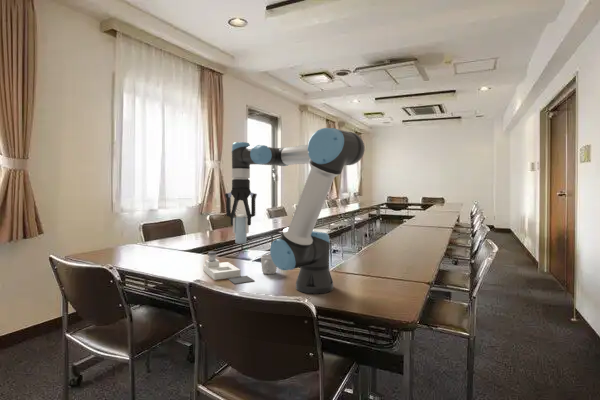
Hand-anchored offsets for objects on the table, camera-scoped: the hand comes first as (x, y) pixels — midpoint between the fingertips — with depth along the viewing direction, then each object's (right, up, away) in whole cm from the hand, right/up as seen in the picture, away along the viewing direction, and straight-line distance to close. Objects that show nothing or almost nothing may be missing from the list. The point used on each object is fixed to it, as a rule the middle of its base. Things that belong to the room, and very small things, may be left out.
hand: (240, 232), depth 150 cm
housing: (-11, -20, +12) cm, 26 cm away
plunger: (-16, -16, +14) cm, 27 cm away
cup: (+11, -21, +12) cm, 26 cm away
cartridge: (0, -4, 0) cm, 4 cm away
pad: (0, -21, +1) cm, 21 cm away
